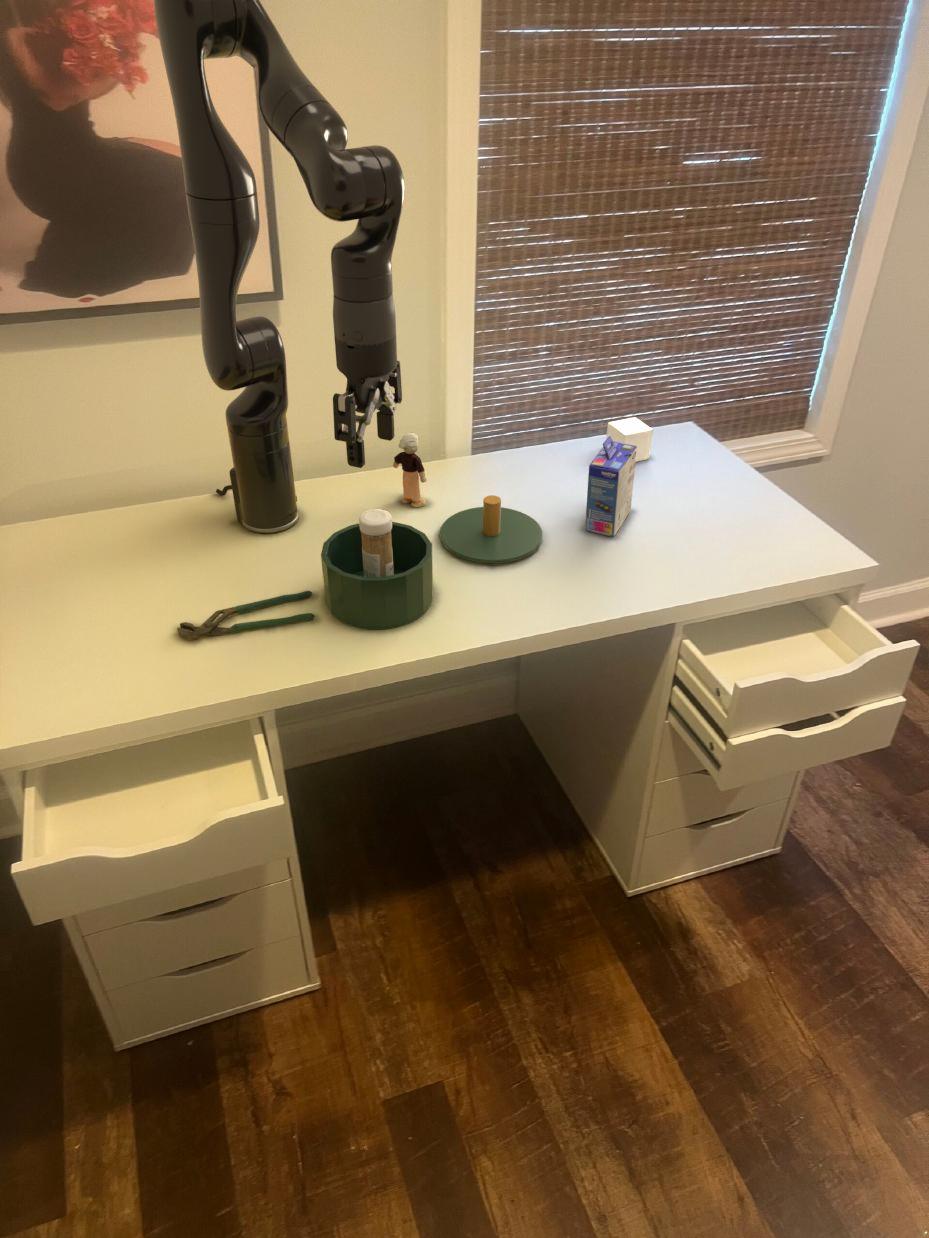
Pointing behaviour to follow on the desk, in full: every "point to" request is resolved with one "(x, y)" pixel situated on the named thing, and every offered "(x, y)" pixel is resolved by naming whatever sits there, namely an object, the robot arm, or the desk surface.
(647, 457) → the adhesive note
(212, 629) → the pliers
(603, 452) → the ink cartridge box
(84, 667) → the desk surface
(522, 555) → the tin lid
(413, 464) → the grandmother figurine
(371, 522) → the sprinkles bottle
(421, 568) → the tin
